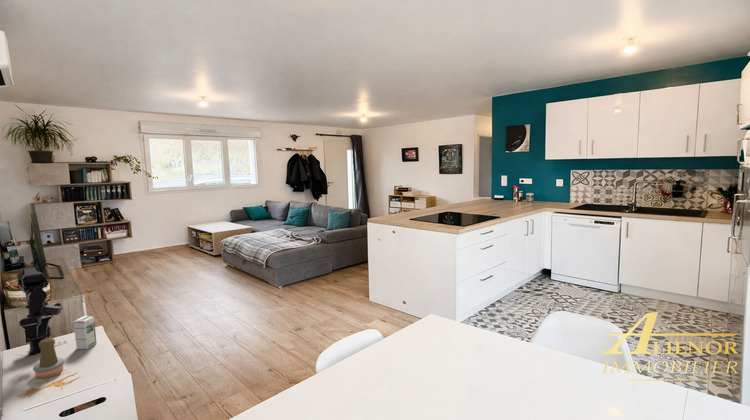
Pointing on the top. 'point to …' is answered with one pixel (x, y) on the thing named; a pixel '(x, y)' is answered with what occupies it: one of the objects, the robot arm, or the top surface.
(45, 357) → the cork
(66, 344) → the top surface
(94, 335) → the syrup box
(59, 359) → the lid
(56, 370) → the bowl
